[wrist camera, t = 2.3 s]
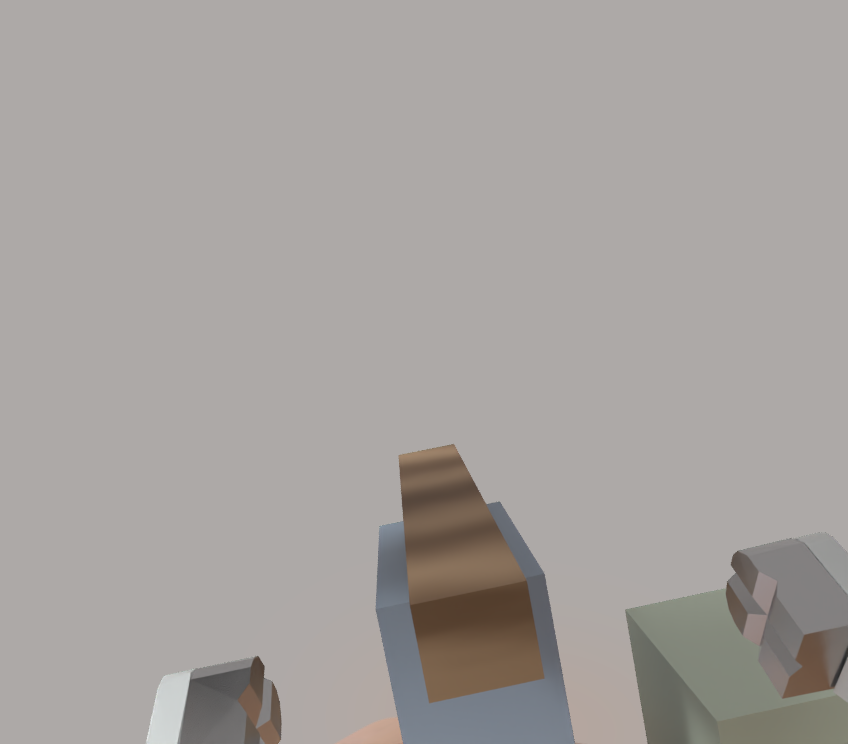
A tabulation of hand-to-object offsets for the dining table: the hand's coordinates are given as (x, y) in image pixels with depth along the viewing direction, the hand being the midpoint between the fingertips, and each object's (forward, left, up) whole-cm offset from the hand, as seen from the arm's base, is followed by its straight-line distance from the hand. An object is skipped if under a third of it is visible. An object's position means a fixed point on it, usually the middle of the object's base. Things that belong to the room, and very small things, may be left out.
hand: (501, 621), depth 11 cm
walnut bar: (0, +22, -8) cm, 23 cm away
